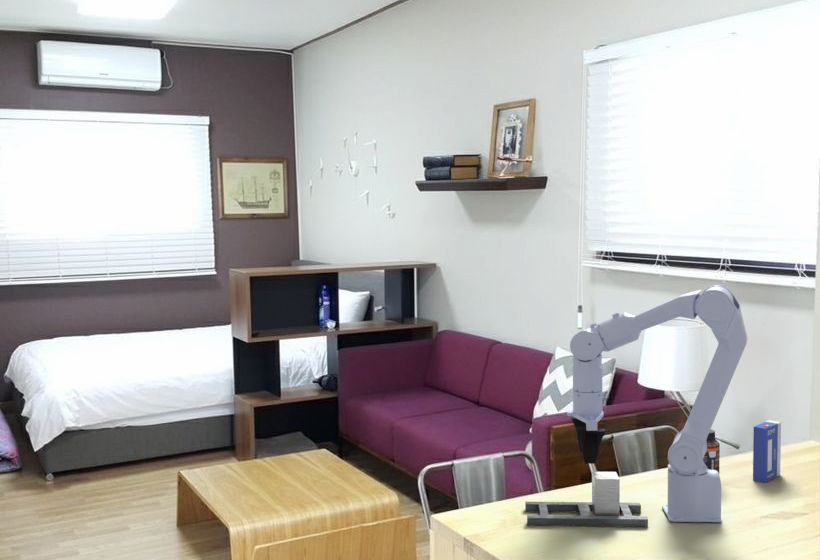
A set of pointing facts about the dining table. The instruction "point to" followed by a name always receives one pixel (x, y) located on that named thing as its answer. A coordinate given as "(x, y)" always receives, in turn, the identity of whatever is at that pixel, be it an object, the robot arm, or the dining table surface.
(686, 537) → the dining table surface
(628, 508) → the rail
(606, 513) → the steel peg
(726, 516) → the dining table surface
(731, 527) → the dining table surface
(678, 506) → the robot arm
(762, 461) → the walkman
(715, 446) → the supplement bottle
